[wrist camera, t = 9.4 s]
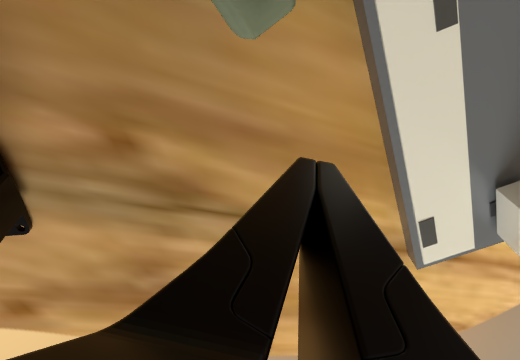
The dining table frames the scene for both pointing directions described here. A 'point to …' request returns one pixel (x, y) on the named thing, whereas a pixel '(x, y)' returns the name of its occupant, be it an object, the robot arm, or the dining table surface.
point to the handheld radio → (252, 15)
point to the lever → (509, 214)
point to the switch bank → (446, 115)
